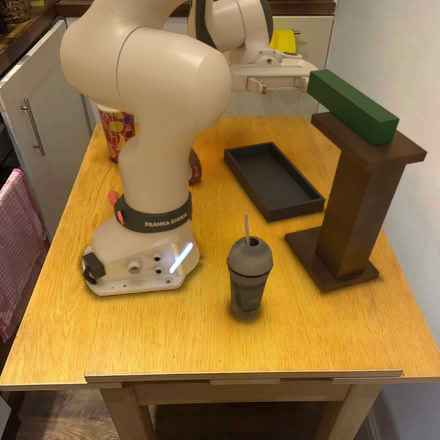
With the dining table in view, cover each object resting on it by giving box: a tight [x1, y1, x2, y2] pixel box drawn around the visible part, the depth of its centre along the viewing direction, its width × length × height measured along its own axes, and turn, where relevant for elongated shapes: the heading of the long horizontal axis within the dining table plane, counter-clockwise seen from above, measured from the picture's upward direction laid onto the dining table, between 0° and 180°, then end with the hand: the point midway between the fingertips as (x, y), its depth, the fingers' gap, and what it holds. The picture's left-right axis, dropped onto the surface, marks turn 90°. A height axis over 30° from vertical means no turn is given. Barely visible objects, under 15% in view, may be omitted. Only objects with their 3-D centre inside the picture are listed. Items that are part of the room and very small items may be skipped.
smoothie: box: [96, 103, 136, 163], centre depth 98 cm, size 8×8×20 cm
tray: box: [223, 141, 327, 223], centre depth 98 cm, size 14×28×3 cm, turn 20°
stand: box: [284, 110, 429, 293], centre depth 72 cm, size 12×16×26 cm
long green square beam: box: [306, 68, 401, 145], centre depth 64 cm, size 4×20×4 cm, turn 20°
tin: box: [189, 147, 203, 184], centre depth 98 cm, size 15×3×8 cm, turn 34°
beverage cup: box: [226, 214, 274, 320], centre depth 64 cm, size 7×7×20 cm
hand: (285, 89), depth 81 cm, fingers open, 8 cm apart
